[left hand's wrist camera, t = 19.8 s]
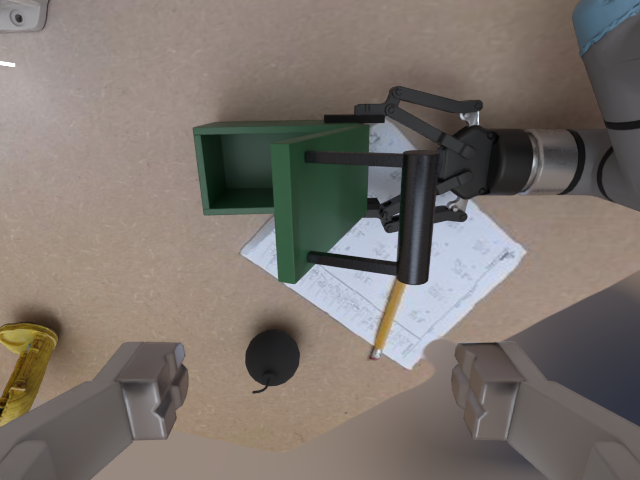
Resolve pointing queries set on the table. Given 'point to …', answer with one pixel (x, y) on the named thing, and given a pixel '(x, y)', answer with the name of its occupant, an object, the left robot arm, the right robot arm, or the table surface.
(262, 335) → the bomb
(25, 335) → the shrine
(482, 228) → the table surface
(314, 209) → the lid
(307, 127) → the chest
